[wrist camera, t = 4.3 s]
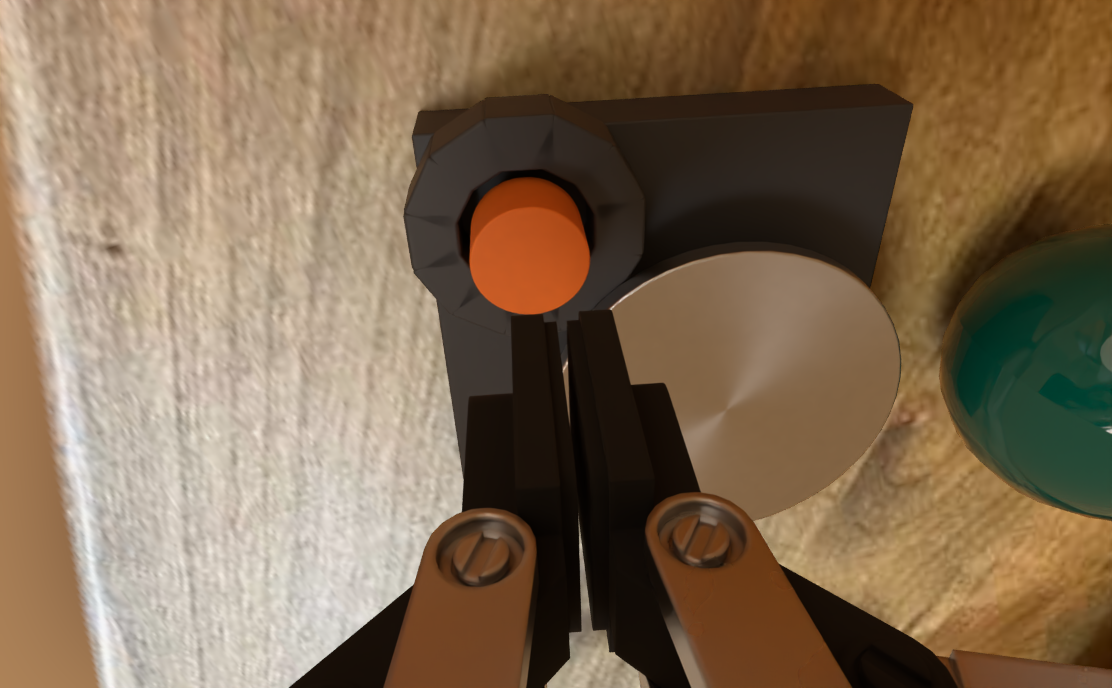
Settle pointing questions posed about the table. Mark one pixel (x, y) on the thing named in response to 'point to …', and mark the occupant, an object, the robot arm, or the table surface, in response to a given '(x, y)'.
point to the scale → (647, 193)
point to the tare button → (528, 246)
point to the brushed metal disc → (761, 365)
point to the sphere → (1039, 370)
